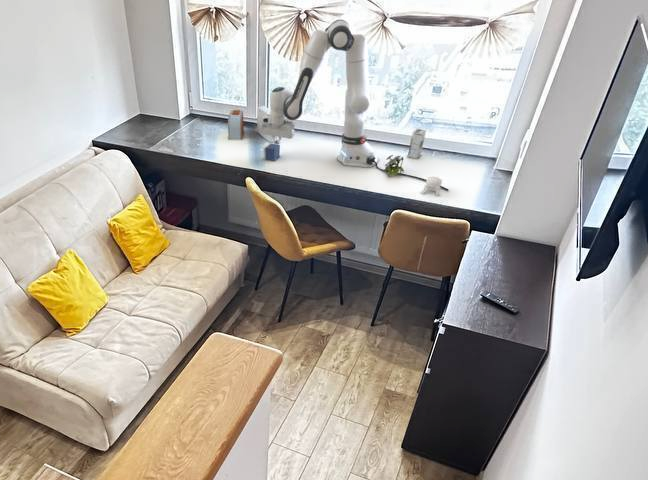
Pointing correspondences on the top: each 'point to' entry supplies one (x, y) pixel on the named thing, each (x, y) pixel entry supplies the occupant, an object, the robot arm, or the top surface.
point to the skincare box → (260, 114)
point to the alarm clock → (235, 124)
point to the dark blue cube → (271, 152)
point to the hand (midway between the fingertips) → (277, 143)
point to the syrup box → (416, 143)
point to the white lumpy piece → (433, 184)
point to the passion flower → (394, 168)
